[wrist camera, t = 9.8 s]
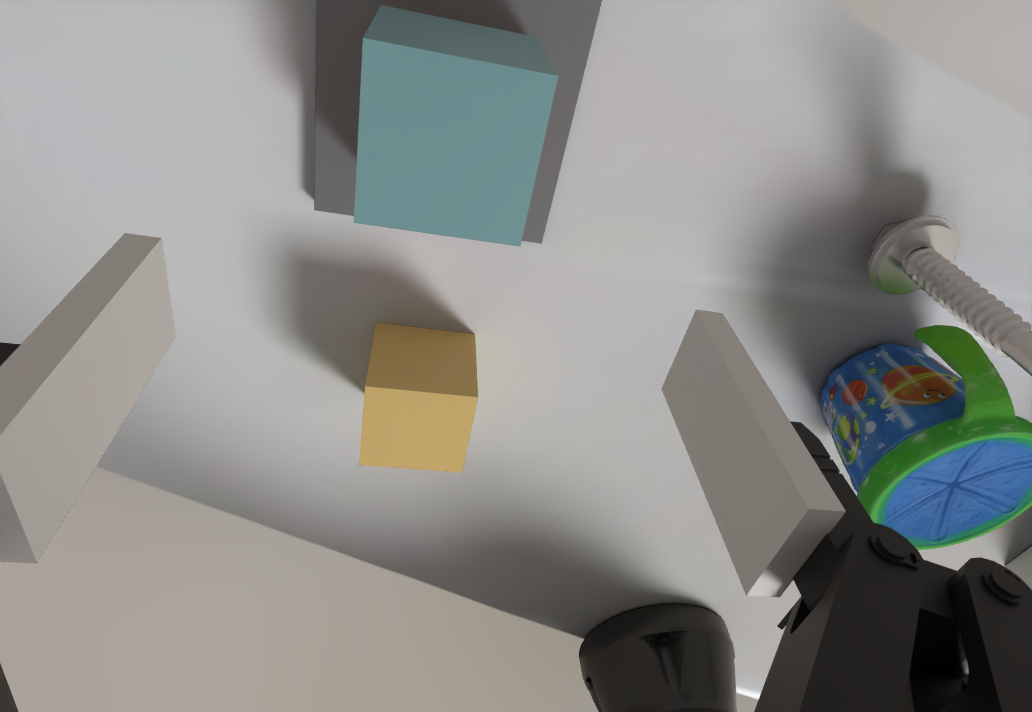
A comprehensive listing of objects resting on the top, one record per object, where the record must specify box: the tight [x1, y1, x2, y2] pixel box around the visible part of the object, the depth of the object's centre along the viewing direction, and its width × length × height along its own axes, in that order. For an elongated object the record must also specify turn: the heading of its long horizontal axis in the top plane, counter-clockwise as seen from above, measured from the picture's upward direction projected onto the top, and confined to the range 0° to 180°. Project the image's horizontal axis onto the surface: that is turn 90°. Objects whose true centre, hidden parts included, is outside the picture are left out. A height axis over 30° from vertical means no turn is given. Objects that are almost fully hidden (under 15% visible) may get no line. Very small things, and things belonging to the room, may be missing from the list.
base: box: [314, 0, 602, 243], centre depth 28 cm, size 12×12×5 cm
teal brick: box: [354, 5, 558, 246], centre depth 23 cm, size 6×6×6 cm
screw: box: [868, 215, 1032, 376], centre depth 32 cm, size 13×5×5 cm
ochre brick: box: [359, 323, 478, 473], centre depth 38 cm, size 6×6×6 cm
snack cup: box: [821, 325, 1032, 550], centre depth 40 cm, size 16×10×10 cm
